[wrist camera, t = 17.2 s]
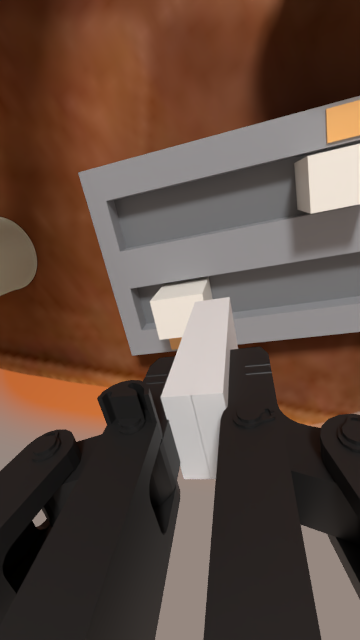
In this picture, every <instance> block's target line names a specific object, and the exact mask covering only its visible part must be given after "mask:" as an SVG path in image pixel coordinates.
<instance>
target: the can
mask: <svg viewBox="0 0 360 640" xmlns="http://www.w3.org/2000/svg"><path fill="white" fill-rule="evenodd" d="M36 270H37V256H36V251H35V248H34V246H33V244H32V242H31V240H30V238H29V237H28V235H27V234H26V233H25V232H24V230H23V229H22V228H21V227H19V226H18V225H17V224H16V223H14V222H12V221H11V220H9V219H6V218H3V217H0V296H1V295H4V294H6V293H8V292H11V291H13V290H17V289H21V288H23V287H25V286H27V285H28V284H29V283H30V282H31V281H32V280H33V278H34V276H35V273H36Z"/></svg>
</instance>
